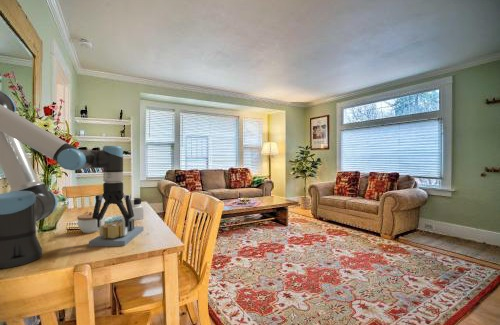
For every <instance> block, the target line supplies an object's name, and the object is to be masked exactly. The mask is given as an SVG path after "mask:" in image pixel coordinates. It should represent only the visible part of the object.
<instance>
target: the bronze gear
mask: <svg viewBox="0 0 500 325" xmlns="http://www.w3.org/2000/svg"><path fill="white" fill-rule="evenodd" d="M112 225H115V226H112ZM121 236H123V222H120V223H116V222H113V221H112V222H111V223H110V222H109V223H105V224H104V225H102V226H101V237H103V238H115V237H121Z"/></svg>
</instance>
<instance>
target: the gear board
mask: <svg viewBox="0 0 500 325" xmlns="http://www.w3.org/2000/svg"><path fill="white" fill-rule="evenodd" d="M121 219H122V221H123V220H124V218H121ZM112 226H115V225H112ZM143 231H144V226H143V225H142V226H140V225H139V226H134V229H133V231H127V234H126V235H123V236H121V237H115V238H103V237H101V236H100V234H99V235H98V236H95V237H94V238H93V239H91V240H89V241H88V247H125V246H127V244H129V243H130V242H132V240H134V239H135V238H136V237H137V236H139V235H140V234H141V233H142V232H143Z"/></svg>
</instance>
